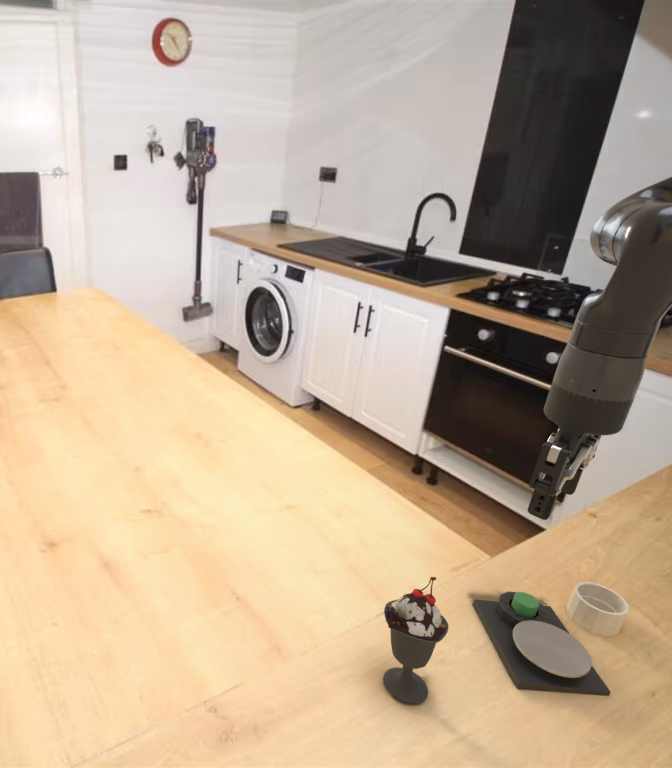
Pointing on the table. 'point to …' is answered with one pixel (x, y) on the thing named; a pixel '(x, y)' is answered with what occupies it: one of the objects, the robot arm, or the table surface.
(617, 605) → the bowl
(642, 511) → the table surface
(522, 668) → the scale
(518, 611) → the tare button
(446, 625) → the sundae
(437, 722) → the table surface
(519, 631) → the scale pan
